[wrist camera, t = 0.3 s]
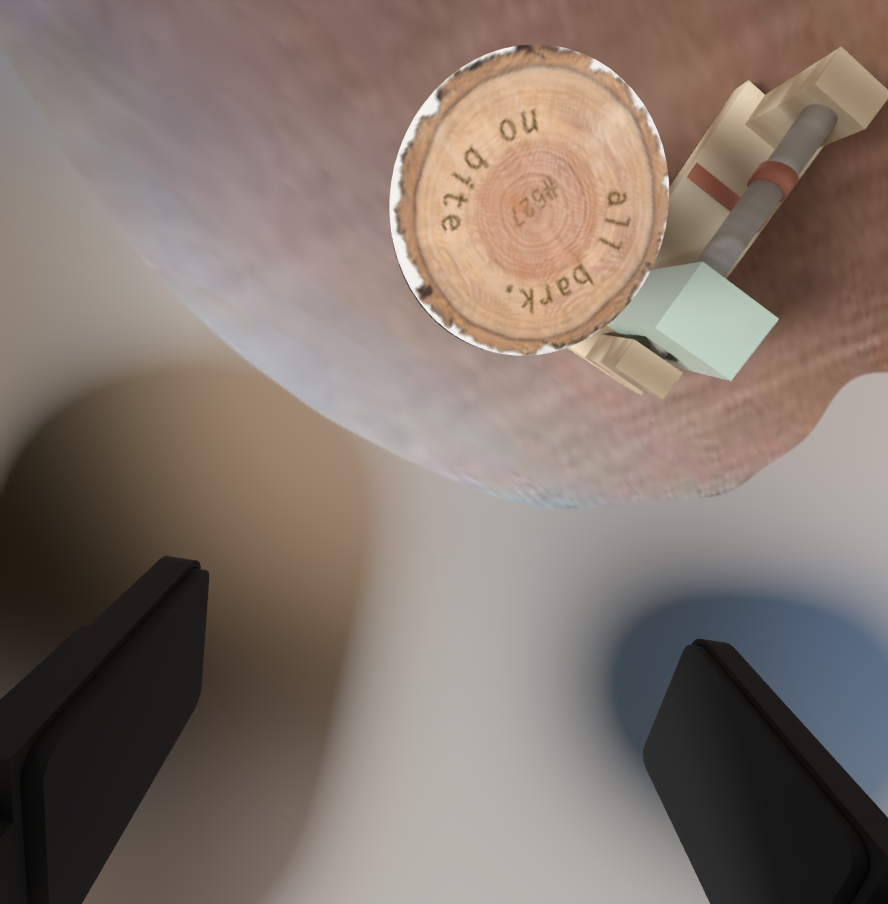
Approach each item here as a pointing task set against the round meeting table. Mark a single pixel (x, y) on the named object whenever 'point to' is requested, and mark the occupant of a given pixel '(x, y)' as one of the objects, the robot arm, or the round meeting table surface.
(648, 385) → the rod stand
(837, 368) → the round meeting table surface
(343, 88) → the round meeting table surface
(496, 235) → the paper tube
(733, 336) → the collar
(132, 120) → the round meeting table surface
